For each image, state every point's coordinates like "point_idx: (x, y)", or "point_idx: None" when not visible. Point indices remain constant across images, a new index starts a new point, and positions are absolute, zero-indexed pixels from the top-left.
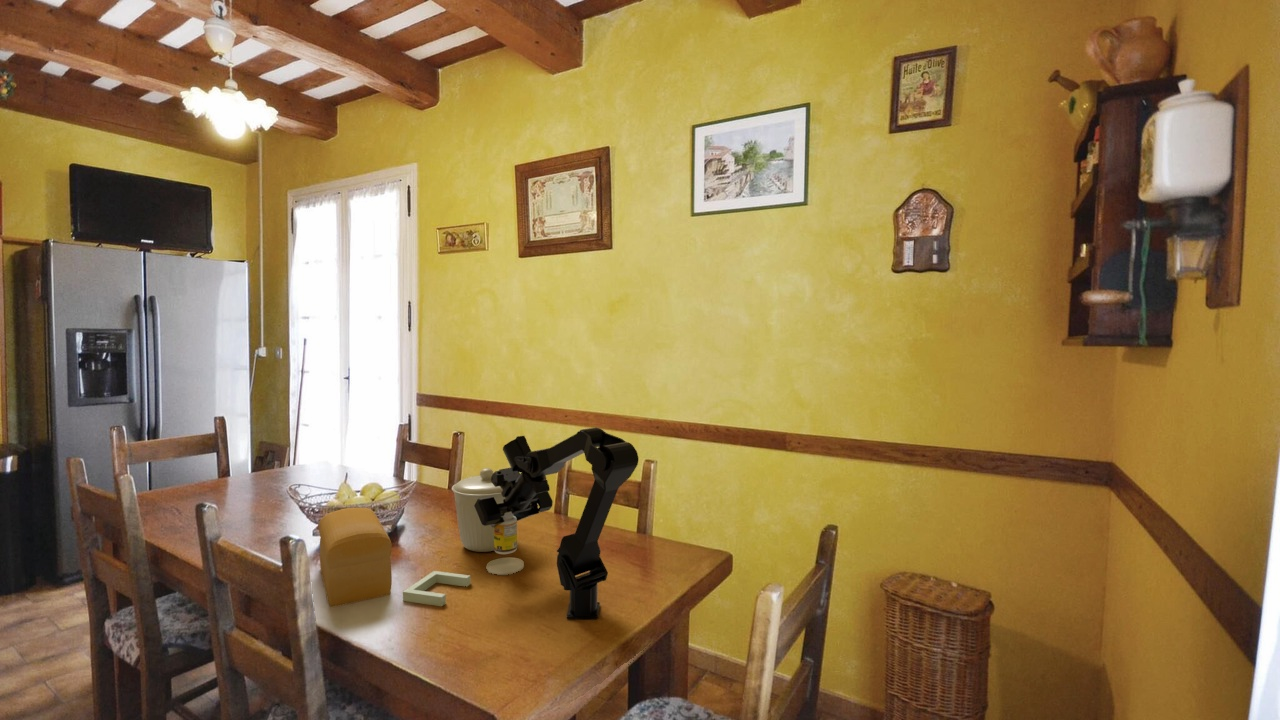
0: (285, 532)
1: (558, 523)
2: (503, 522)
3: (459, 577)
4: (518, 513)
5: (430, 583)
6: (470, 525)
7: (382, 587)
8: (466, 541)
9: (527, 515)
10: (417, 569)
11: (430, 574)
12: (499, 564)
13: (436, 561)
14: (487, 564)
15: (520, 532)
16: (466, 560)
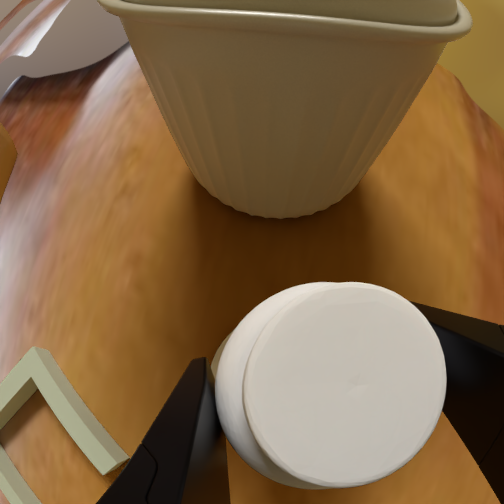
0: (20, 48)
1: (471, 122)
2: (282, 482)
3: (83, 450)
4: (462, 383)
5: (25, 394)
6: (180, 137)
7: None
8: (187, 165)
9: (496, 488)
10: (41, 251)
11: (19, 367)
12: None
13: (97, 216)
14: (219, 351)
15: None
16: (174, 248)
